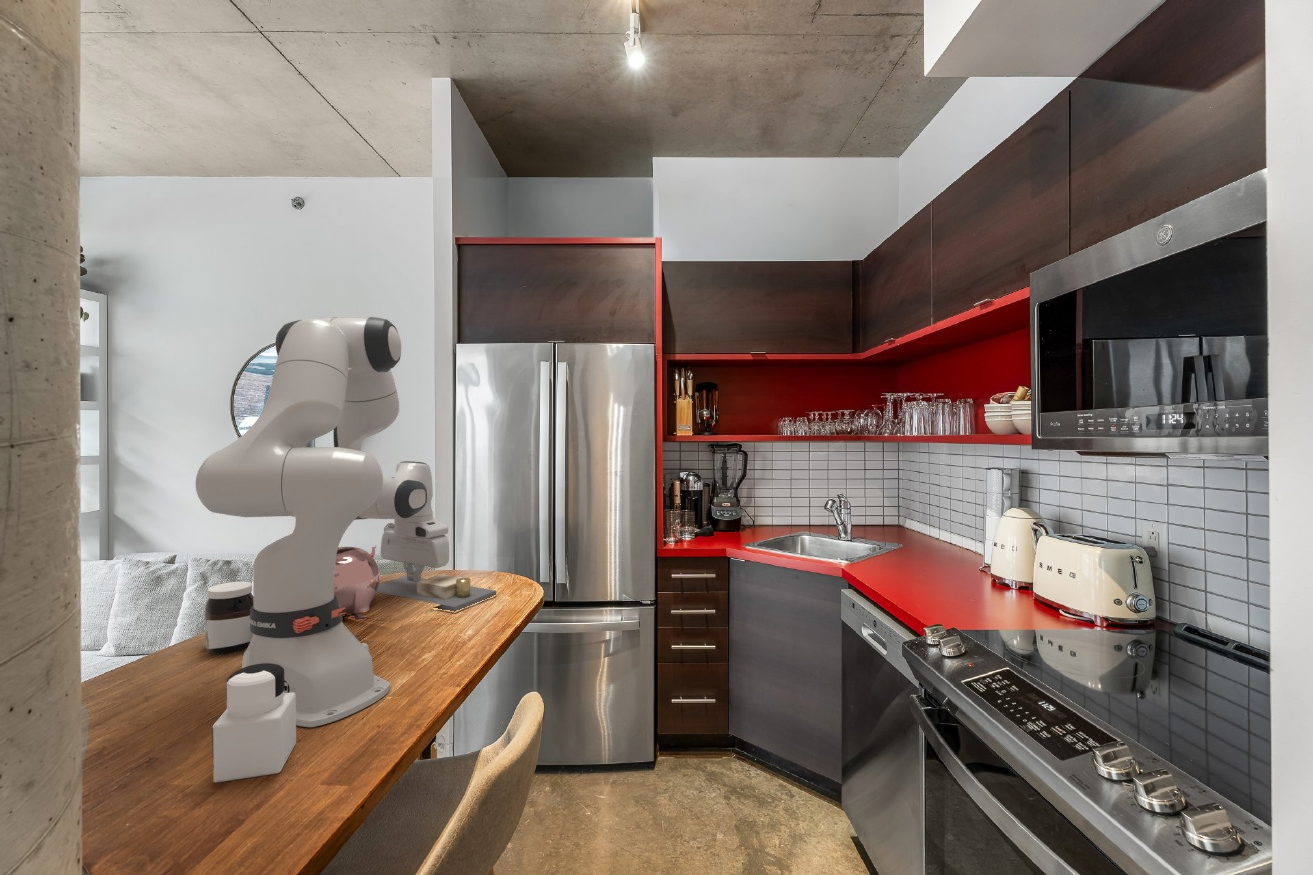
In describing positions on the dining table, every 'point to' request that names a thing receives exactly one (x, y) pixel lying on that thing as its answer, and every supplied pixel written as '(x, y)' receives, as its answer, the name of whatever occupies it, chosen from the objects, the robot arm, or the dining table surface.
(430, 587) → the beige flat block
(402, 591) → the board
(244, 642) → the spread jar
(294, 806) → the dining table surface
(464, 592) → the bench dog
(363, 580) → the piggy bank
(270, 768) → the medicine bottle
